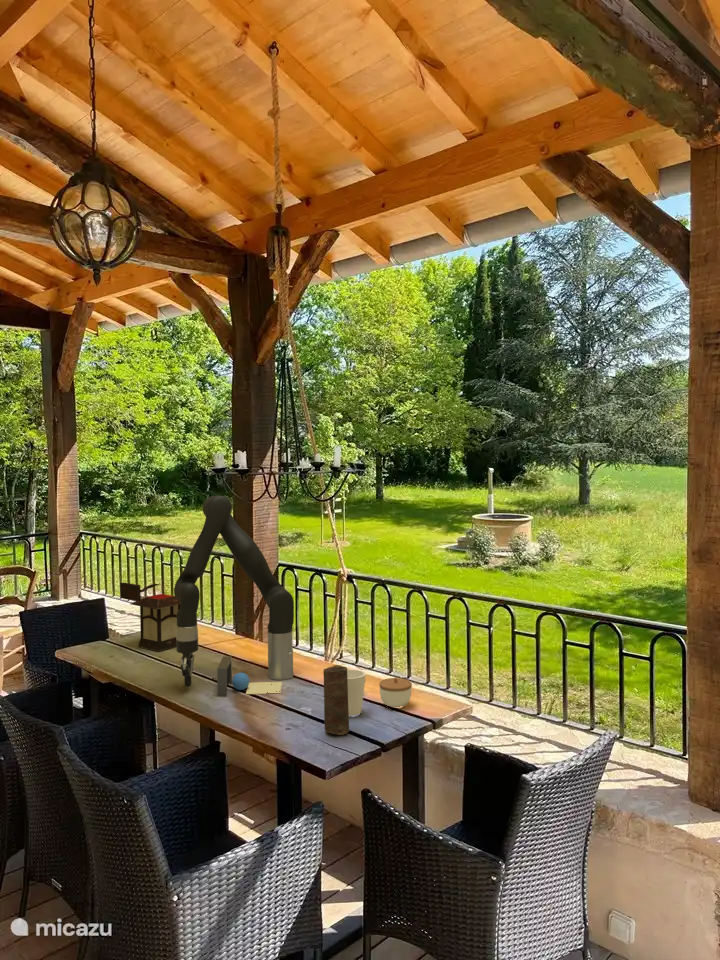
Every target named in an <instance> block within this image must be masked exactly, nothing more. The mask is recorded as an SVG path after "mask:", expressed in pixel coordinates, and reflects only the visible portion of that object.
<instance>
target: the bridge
mask: <svg viewBox="0 0 720 960" xmlns="http://www.w3.org/2000/svg"><path fill="white" fill-rule="evenodd" d="M232 657H233V656H232V655H231V656H230V655H224V656H222V658H221V661H220V663H218V666H217V668H216V673H217V674H216V678H217V679H216V680H217V686H216V687H217V697H218V696H219V697H227V696H228V685H232V680H233V668H232V667H233V665H232V662H233V661H232V660H233V659H232ZM229 683H230V684H229Z"/></svg>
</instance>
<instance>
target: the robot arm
mask: <svg viewBox="0 0 720 960" xmlns="http://www.w3.org/2000/svg"><path fill="white" fill-rule="evenodd" d="M232 510H233V508H232V503H231V501H230V499H228V498H227V496H224V495H213V496H212V495H211V496H209V497H207V498H206V499H205V500H204V502H203V503H202V512H203V515H204V517H205V521H204V523H203V527H202V529H201V532H200V534H199V535H198V537H197V539H196V541H195V543H194V545H193V546H192V548H191V551H190V553H189V555H188V557H187V560H186V564H185V566H184V569H183V570H182V572H181V573H180V575H179V576H178V578H177V580H176V582H175V584H174V587H173V596H175V597H176V598H177V599H179V600H181V606H180V609H179V610H178V611H177V630H176V647H175V648H176V652H177V653H179V654H182V657H180V662H181V664H180V670H181V674H182V677H184V679H183V680H184V684H183V685H184V687H185V688H187V687H191V686H192V675H193V672H194V661H195V655H194V653H195V652H198V651H199V628H198V610H199V604H200V596H201V594H200V588H199V587H198V586H197V584H196V583H197V581H198V579H199V578H201V577H203V575H204V573H205V571H206V568H207V566H208V563H209V561H210V558H211V554H212V552H213V549H214V547H215V544H216V542H217V539H218V537H219V535H220V536H221V537H222V540H223V541H224V542H225V544H226V546H227V548H228V549H229V551H230V552H231V554H232V556H233V557H234V559H235V560H236V561H237V563H238V565H239V566H240V567H241V569H242V570H243V571H244V572H245V574H246V575H247V576H248V578H250V579H251V580H252V582H253V583H254V584H255V585H256V587H257V588H258V590H259V592H260V594H261V596H262V598H263V600H264V602H265V603H266V604H265V605H266V606H267V607H268V609H269V613H268V615H269V616H268V617H269V620H268V623H267V673H268V675H267V677H268V678H269V679H271V680H274V681H275V680H277V681H282V680H283V681H284V680H288V679H293V678H294V649H293V647H294V646H293V645H294V644H293V643H294V642H293V627H294V620H295V618H294V617H295V616H294V614H295V609H294V608H295V607H294V606H295V602H294V597H293V595H292V594H291V593H290V592H289V591H288V590H287V589H285V587H284V586H283V585H282V584H281V583H280V582H279V581H278V580H277V578H276V576H274V574H273V573H272V570H271V568H270V566H269V563H268V562H267V559H266V557H265V555H264V554H263V553H262V551H261V549H260V548H259V546H258V544H257V543H256V542H255V541H254V539H253V538H252V537H251V536H250V535H249V534H248V533H247V532H246V531H245V530H244V529H243V528H242V527H241V526H239V524H238V523H237V521H236V520H235V519H234V516H233V515H232V514H231V512H232Z"/></svg>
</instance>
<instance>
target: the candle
mask: <svg viewBox="0 0 720 960" xmlns="http://www.w3.org/2000/svg"><path fill="white" fill-rule="evenodd" d="M347 670H348V668H347V666H343V665H340V664H334V665H332V666H329V667H326V668H324V669H323V703H324V704H323V705H324V706H323V708H324V709H323V710H324V711H323V712H324V714H323V716H324V717H323V718H324V730H325V731H326V733H329V734H333V735H338V736H345V735H344V734H347V733H348V732H350V717H349V711H348V681H347ZM348 734H349V733H348ZM348 734H347V735H348Z"/></svg>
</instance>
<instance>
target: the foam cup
mask: <svg viewBox="0 0 720 960" xmlns="http://www.w3.org/2000/svg"><path fill="white" fill-rule="evenodd" d="M347 681H348V711H349V715H357V714H360V713H361V714H362V709H363V702H364V694H365V691H364V690H365V683H366V672H365V671H363V670H359V669H349V668H348V669H347Z"/></svg>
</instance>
